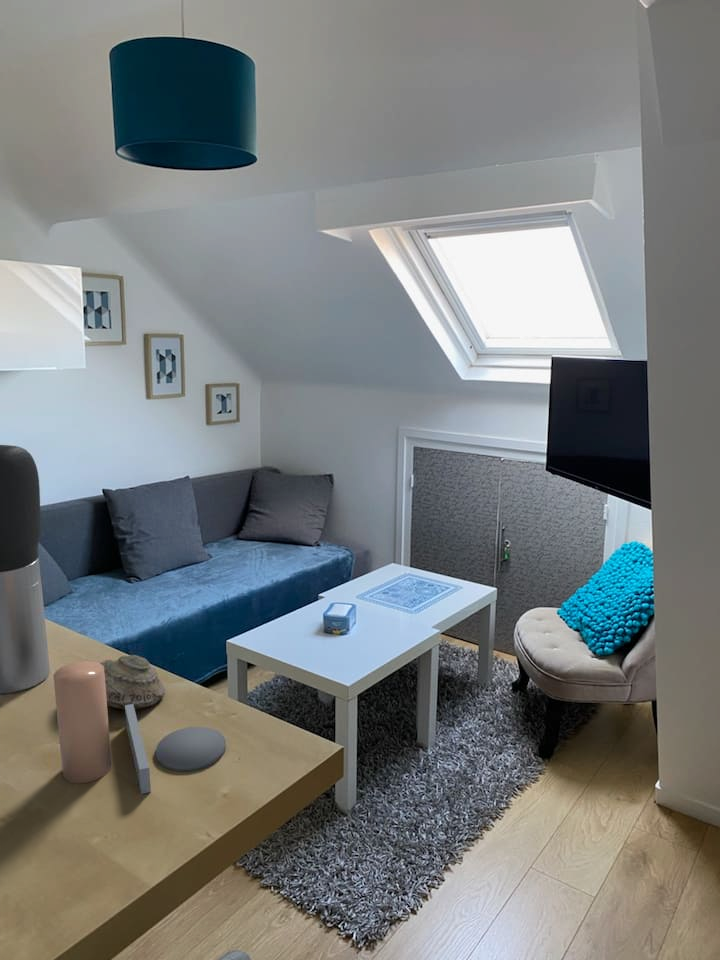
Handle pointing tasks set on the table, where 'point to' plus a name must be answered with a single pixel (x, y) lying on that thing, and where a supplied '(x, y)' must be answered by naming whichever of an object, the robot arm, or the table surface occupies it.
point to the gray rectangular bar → (137, 749)
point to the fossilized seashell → (131, 682)
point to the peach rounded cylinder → (83, 721)
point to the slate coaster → (190, 748)
